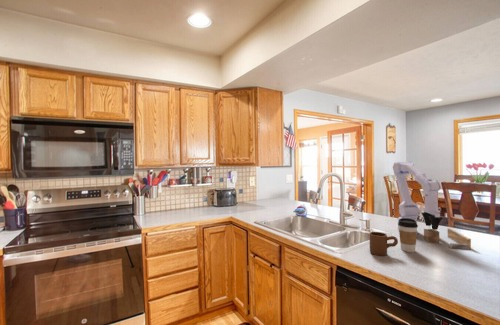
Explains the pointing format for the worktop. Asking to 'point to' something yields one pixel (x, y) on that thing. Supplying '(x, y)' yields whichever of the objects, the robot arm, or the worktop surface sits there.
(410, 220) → the coffee cup
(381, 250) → the mug
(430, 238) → the cabinet block
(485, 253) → the worktop surface
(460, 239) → the board
